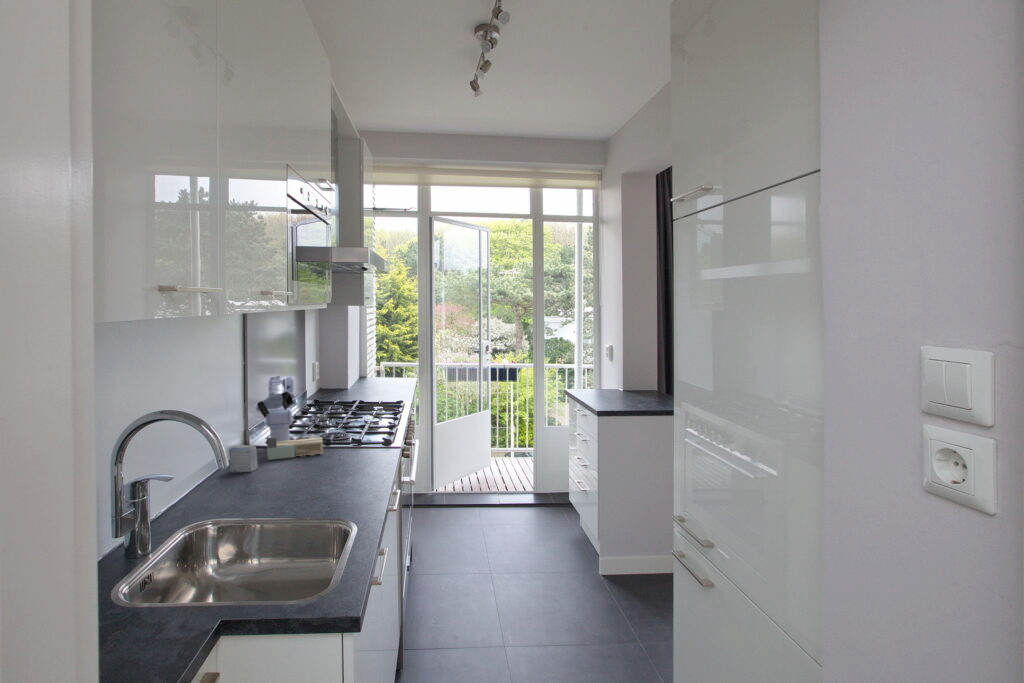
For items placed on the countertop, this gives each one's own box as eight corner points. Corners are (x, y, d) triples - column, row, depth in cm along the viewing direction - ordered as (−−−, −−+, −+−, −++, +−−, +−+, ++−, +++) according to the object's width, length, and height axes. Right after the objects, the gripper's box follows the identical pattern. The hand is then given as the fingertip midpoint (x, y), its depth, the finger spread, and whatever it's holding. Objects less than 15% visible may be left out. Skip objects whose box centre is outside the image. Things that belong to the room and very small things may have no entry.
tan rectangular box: (268, 455, 240) (268, 442, 240) (322, 449, 246) (322, 437, 246) (267, 459, 232) (266, 446, 232) (323, 454, 238) (322, 441, 238)
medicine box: (258, 469, 220) (256, 445, 219) (251, 472, 215) (250, 448, 215) (236, 469, 220) (235, 445, 220) (230, 472, 216) (228, 448, 215)
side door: (268, 459, 232) (266, 438, 231) (296, 456, 235) (294, 435, 235) (267, 460, 231) (266, 438, 230) (296, 457, 234) (294, 436, 233)
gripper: (253, 394, 239) (250, 409, 227) (290, 380, 242) (289, 394, 229) (261, 409, 242) (258, 425, 230) (297, 395, 244) (296, 410, 232)
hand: (274, 411), depth 230 cm, fingers open, 7 cm apart
